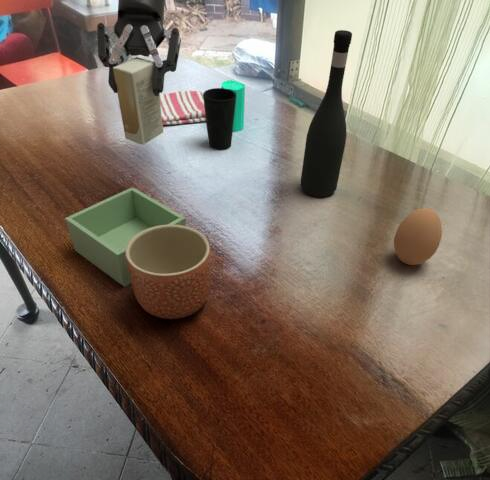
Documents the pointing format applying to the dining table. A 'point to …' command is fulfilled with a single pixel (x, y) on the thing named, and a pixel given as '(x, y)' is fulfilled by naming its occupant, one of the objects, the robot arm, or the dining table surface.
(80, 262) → the dining table surface
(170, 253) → the planter
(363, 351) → the dining table surface
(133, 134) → the cosmetic box
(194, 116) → the dish towel
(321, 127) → the wine bottle
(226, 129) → the cup
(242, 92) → the candle
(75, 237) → the green open box
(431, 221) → the egg
